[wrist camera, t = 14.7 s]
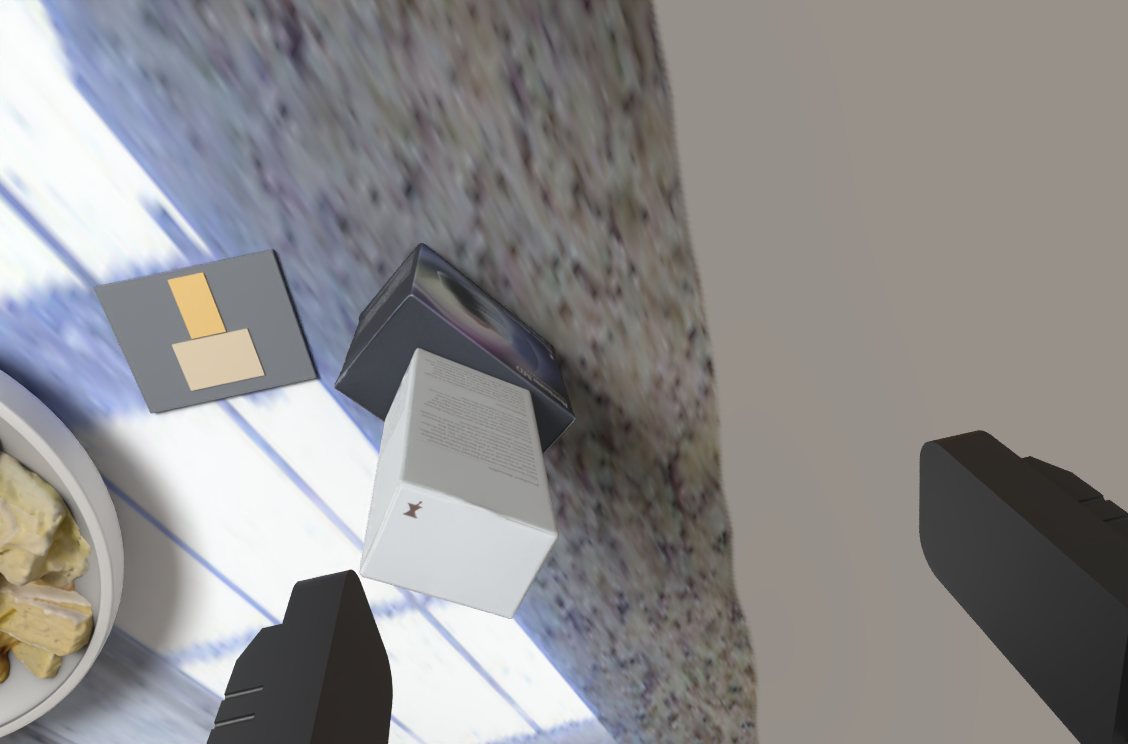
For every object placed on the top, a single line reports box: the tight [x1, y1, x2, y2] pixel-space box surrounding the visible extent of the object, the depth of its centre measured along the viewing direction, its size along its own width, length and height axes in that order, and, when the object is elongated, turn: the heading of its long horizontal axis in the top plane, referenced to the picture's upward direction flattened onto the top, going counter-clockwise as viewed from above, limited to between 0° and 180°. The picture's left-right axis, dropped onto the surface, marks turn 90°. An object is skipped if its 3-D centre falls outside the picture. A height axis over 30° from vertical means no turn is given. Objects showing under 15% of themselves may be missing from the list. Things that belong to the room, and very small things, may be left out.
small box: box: [334, 243, 575, 455], centre depth 43 cm, size 11×6×10 cm, turn 48°
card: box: [94, 249, 317, 413], centre depth 46 cm, size 8×10×1 cm
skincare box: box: [359, 348, 559, 619], centre depth 33 cm, size 6×4×12 cm
